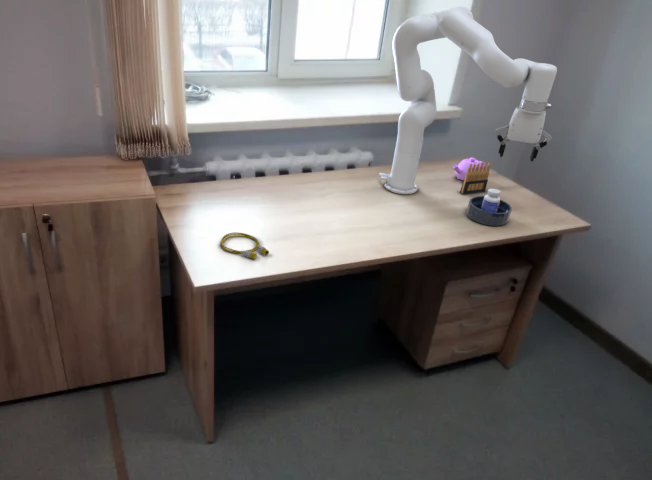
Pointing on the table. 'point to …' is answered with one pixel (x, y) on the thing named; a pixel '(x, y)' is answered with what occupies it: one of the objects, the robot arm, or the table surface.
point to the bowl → (485, 216)
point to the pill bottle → (491, 201)
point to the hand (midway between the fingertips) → (516, 157)
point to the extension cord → (249, 252)
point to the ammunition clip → (476, 179)
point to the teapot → (465, 167)
